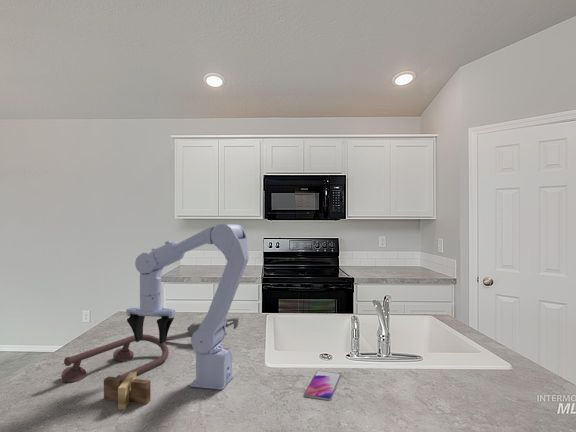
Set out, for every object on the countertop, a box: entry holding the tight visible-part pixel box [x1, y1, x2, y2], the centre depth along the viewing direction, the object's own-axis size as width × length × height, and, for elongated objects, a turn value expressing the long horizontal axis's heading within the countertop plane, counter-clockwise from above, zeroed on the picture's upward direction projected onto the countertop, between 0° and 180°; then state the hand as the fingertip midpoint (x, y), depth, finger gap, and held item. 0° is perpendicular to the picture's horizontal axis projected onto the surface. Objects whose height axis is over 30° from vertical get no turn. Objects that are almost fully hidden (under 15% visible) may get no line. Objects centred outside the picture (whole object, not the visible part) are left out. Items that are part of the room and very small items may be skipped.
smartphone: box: [303, 370, 342, 402], centre depth 93 cm, size 7×1×15 cm
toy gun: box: [166, 316, 240, 342], centre depth 126 cm, size 2×32×10 cm, turn 81°
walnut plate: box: [103, 376, 152, 405], centre depth 86 cm, size 12×2×5 cm, turn 78°
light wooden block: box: [117, 372, 138, 410], centre depth 86 cm, size 9×2×5 cm, turn 7°
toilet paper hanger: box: [60, 333, 169, 384], centre depth 105 cm, size 28×7×17 cm
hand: (150, 341), depth 99 cm, fingers open, 7 cm apart
